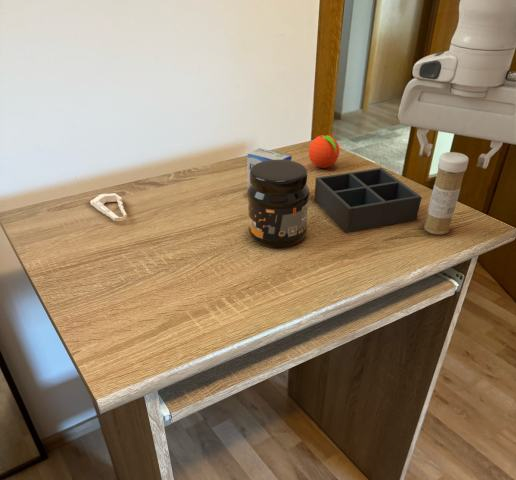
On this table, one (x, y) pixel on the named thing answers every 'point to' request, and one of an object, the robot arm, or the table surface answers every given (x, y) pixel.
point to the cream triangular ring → (99, 205)
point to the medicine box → (263, 158)
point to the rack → (366, 199)
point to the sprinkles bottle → (445, 192)
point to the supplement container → (278, 202)
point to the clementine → (323, 151)
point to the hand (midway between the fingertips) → (452, 161)
